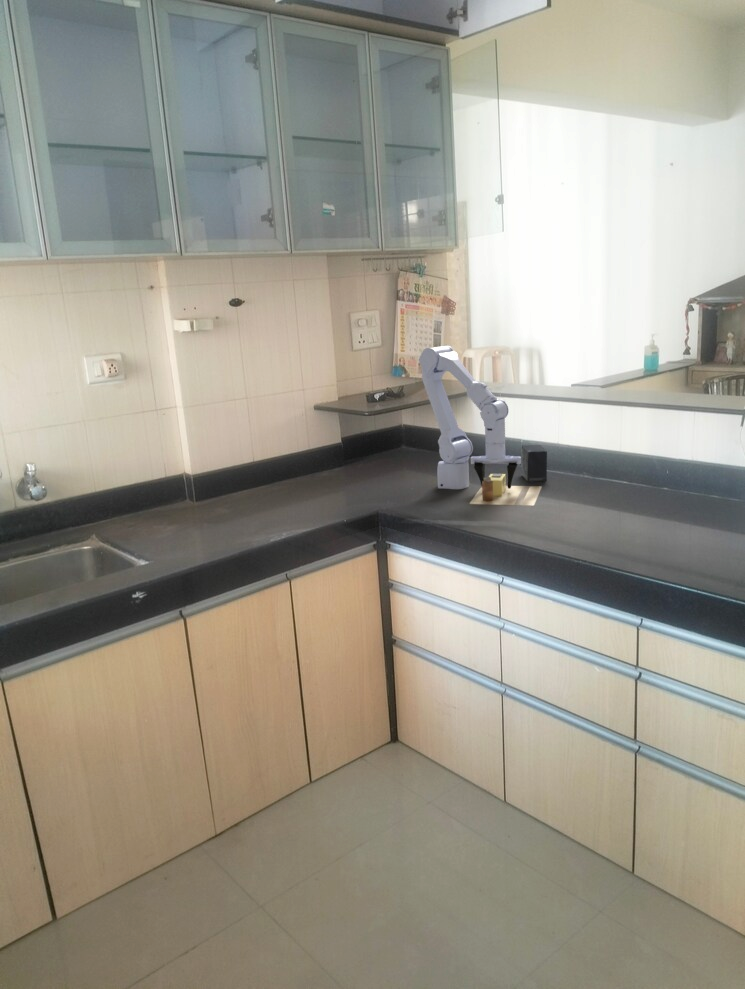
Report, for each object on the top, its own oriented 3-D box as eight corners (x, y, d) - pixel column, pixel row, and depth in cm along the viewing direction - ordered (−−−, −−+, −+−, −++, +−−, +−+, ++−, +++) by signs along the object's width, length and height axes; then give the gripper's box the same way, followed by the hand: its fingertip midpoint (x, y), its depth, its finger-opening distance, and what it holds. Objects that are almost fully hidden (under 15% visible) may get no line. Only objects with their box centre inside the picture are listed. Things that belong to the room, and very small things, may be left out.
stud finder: (486, 495, 221) (486, 479, 219) (491, 488, 228) (490, 472, 227) (501, 495, 219) (501, 479, 218) (505, 488, 227) (505, 473, 225)
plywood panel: (469, 507, 213) (469, 503, 213) (482, 488, 232) (482, 485, 232) (534, 509, 208) (533, 505, 207) (541, 489, 227) (541, 486, 227)
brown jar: (481, 501, 215) (481, 479, 213) (483, 498, 218) (482, 476, 216) (492, 501, 214) (491, 479, 212) (493, 498, 217) (493, 476, 215)
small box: (548, 483, 233) (548, 450, 231) (527, 484, 233) (526, 451, 231) (541, 475, 243) (541, 443, 241) (521, 477, 244) (520, 445, 241)
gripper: (468, 445, 218) (469, 490, 222) (518, 445, 214) (519, 491, 217) (472, 440, 225) (474, 484, 228) (521, 440, 220) (522, 485, 224)
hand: (496, 487), depth 223 cm, fingers open, 7 cm apart
